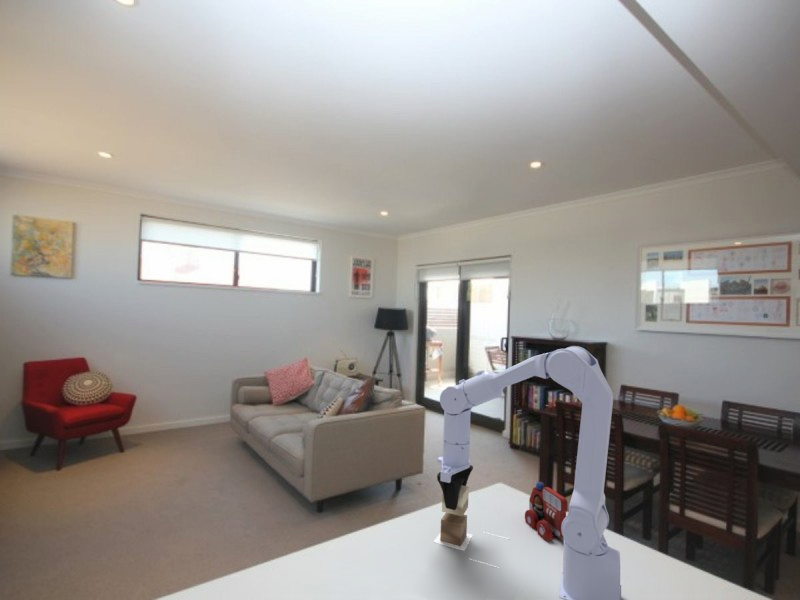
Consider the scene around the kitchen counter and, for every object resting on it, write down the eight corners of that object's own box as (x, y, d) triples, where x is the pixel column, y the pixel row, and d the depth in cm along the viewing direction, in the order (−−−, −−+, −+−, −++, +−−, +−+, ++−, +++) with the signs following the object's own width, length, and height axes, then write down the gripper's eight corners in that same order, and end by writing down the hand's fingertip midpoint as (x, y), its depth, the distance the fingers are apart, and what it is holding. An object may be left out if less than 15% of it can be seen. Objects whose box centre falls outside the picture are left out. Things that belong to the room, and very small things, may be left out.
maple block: (468, 507, 91) (468, 486, 91) (462, 516, 87) (462, 494, 87) (448, 502, 93) (449, 482, 93) (441, 511, 89) (442, 490, 89)
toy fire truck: (544, 517, 102) (545, 474, 102) (578, 545, 90) (579, 497, 90) (519, 519, 100) (520, 476, 101) (550, 549, 88) (551, 500, 89)
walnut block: (466, 535, 91) (467, 515, 91) (460, 546, 87) (461, 524, 87) (446, 530, 93) (447, 510, 93) (440, 540, 89) (440, 519, 89)
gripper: (449, 429, 99) (447, 486, 99) (427, 447, 86) (425, 513, 85) (478, 434, 96) (476, 493, 96) (460, 453, 83) (458, 522, 82)
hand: (454, 503), depth 90 cm, fingers closed on maple block, 4 cm apart
